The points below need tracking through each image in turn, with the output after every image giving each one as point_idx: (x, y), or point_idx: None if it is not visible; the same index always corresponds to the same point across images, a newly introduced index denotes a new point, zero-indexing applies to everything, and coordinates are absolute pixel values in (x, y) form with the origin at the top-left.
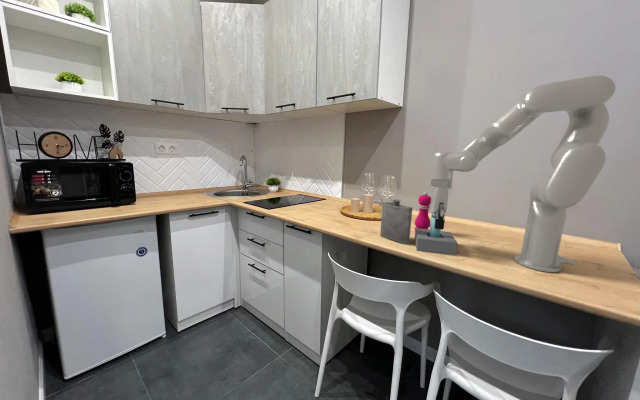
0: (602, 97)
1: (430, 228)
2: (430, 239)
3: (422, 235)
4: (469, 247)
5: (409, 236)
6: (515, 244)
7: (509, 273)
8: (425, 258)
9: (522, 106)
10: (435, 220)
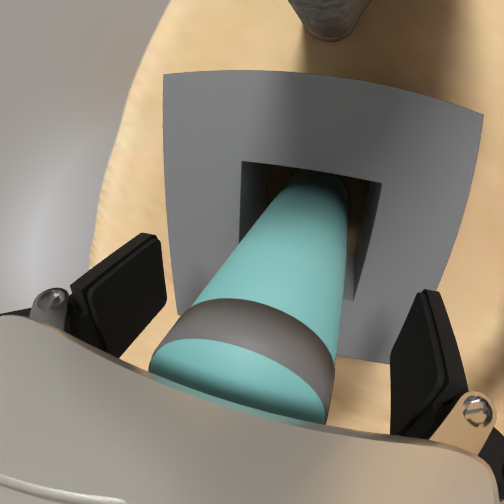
0: None
1: (285, 214)
2: (172, 167)
3: (255, 118)
4: (336, 370)
5: (309, 22)
6: None
7: (136, 350)
8: (123, 120)
9: None
10: (85, 275)
